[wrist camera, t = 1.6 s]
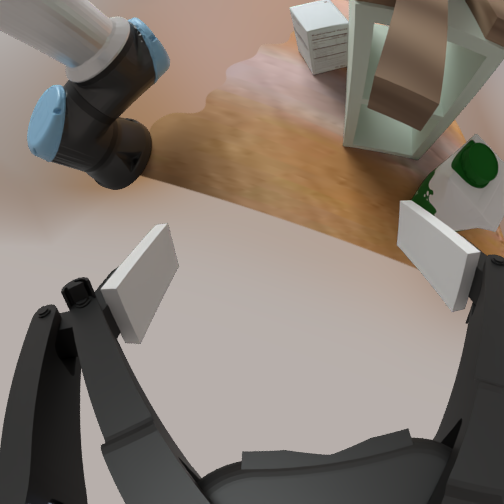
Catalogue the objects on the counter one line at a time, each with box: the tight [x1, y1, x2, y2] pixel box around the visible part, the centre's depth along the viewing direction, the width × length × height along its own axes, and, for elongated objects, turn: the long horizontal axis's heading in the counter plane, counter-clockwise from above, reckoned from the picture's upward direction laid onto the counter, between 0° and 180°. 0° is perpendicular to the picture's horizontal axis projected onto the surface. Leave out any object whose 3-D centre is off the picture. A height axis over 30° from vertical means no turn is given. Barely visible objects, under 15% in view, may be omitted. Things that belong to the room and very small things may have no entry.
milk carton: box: [412, 134, 504, 232], centre depth 28 cm, size 9×9×20 cm
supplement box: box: [290, 0, 349, 75], centre depth 36 cm, size 7×7×13 cm
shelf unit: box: [343, 0, 504, 160], centre depth 26 cm, size 14×13×30 cm
